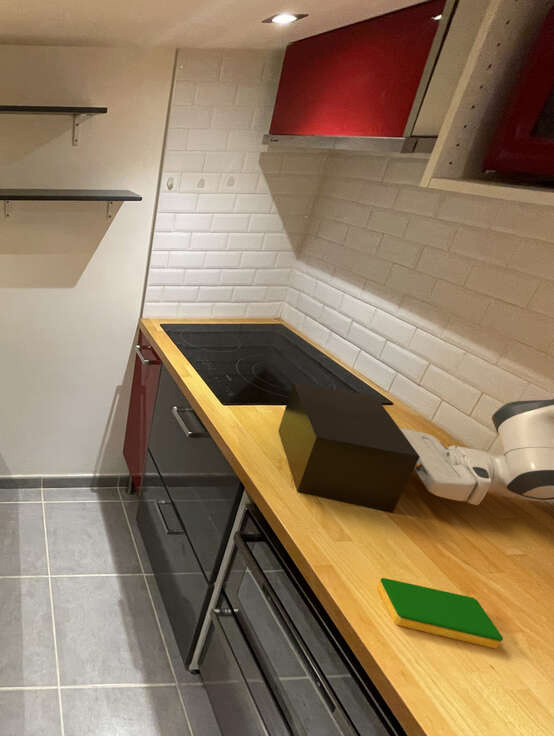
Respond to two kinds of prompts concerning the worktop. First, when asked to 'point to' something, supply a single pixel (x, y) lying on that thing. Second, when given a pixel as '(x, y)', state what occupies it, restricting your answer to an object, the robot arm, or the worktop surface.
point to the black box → (345, 447)
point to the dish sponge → (438, 612)
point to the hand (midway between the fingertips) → (387, 453)
